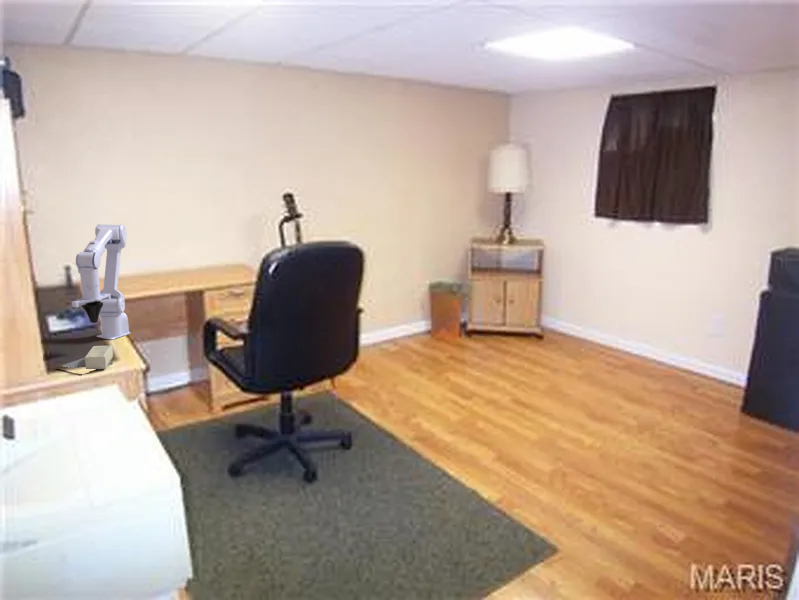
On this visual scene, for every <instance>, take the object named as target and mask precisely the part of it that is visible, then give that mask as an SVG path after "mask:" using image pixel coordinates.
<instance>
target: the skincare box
mask: <svg viewBox="0 0 799 600" xmlns="http://www.w3.org/2000/svg"><path fill="white" fill-rule="evenodd" d="M113 357H114V349H113V345H94V346H92V347H91V349H90V350H89V351H88V353H87V354H86V355H85V356H84V358H85V366H86V369H98V370H102V369H103V370H105V369H107V367H108V366H107V365H108V364H109V362H112V359H113Z"/></svg>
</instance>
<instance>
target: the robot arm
mask: <svg viewBox="0 0 799 600" xmlns="http://www.w3.org/2000/svg"><path fill="white" fill-rule="evenodd" d="M94 234H95V238H94V240H90V241H89V242H88V244H87V245H86V247H85V248H84V250H83V251H81V252H79V253H76V256H75V265H76V267H77V270H78V271H77V272H78V274H79V275H80V277H79V278H80V283H81V284H80V285H81V295H82V297H80V298H78V299H75V300H73V301H71V307H73V308H79V307H82V309H83V310H84V311H85V313H86V314H87V316H88V319H89V322H90V323H92V324H96V323H98V322H99V320H100V328H101V331H100V332H101V334H97V335H96V337H97V338H101V339H105V340H111V341H112V340H115V339H118V338H121V337H124V336H125V337H126V336H128V335H131V334H132V332H130V330H129V329H130V326H129V318H128V315H127V314H126V313H125V312H124V311H125V309H126V302H125V296H124V295H125V294H123V292H121V291H120V290H118V287H119V286H118V285H119V276H120V275H119V274H120V264H121V263H120V262H121V261H120V260H121V254H122V249H124V248H126V244H127V236H128V235H127V229H126V226H125V225H124V224H100V223H98V224H97V225H96V226H95V228H94ZM104 252H106V257H105V267H104V268H105V270H104V280H103V288H102V289H101V287H100V275H99V274H100V273H99V268H100V267H101V260H102V257H103V254H104ZM99 316H100V317H99Z"/></svg>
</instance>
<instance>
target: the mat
mask: <svg viewBox="0 0 799 600" xmlns="http://www.w3.org/2000/svg"><path fill="white" fill-rule="evenodd" d="M112 363H113V364H114V362H113V361H110V362H109V364H111V365H113V364H112ZM109 364H108V365H109ZM61 366H63V367H68V368H70V367H71V368H75V367H78V368H79V367H86V366H85V357H82V358H80V359H76V360H74V361H71V362H67V363H65V364H61ZM109 366H110V365H109Z"/></svg>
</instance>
